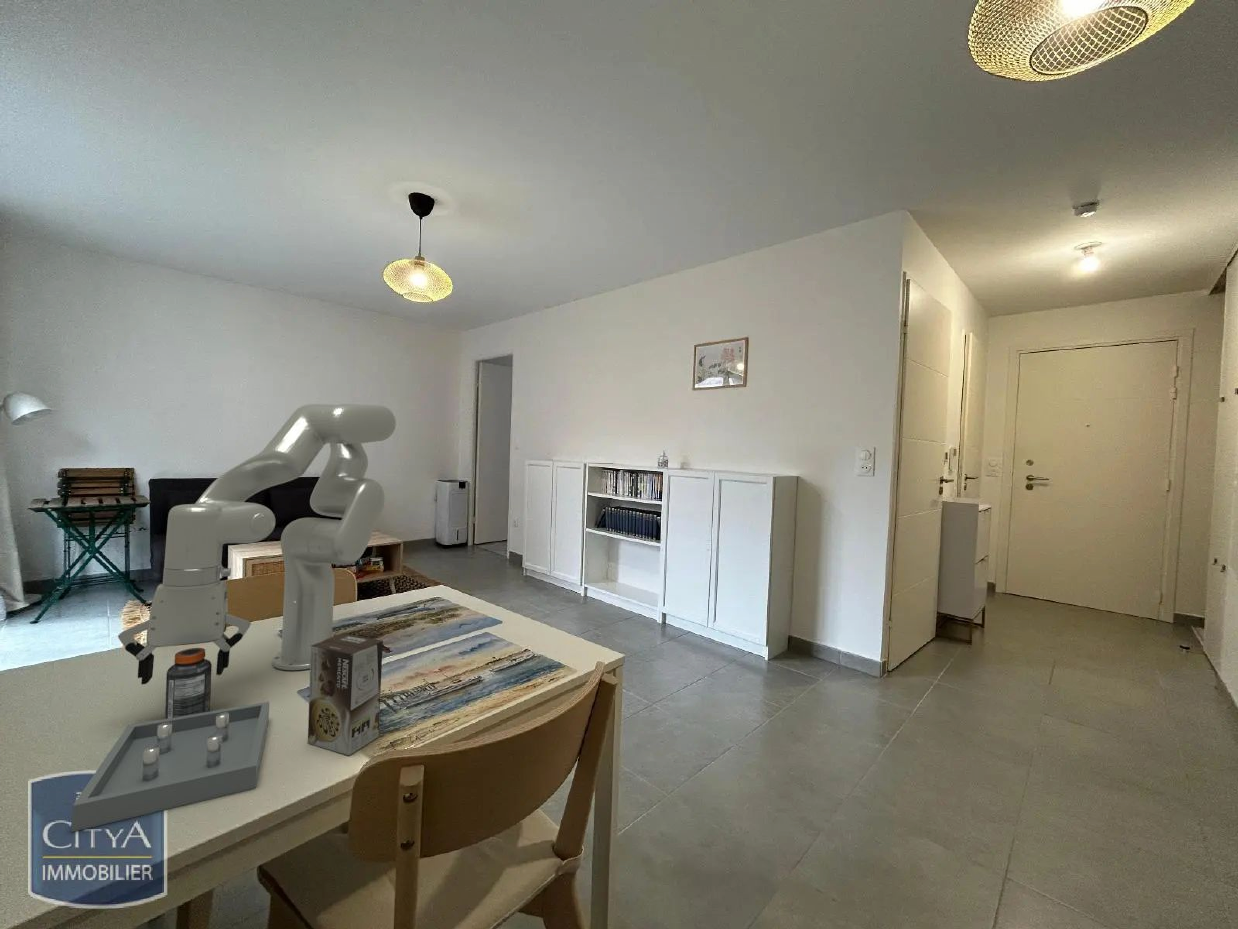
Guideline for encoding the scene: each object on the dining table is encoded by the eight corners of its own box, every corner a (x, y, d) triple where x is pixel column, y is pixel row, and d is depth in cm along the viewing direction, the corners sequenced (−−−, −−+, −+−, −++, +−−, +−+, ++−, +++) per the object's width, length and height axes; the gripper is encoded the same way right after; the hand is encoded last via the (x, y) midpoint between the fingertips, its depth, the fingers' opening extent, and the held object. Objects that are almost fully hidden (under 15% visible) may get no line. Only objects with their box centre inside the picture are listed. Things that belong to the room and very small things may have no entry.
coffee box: (380, 736, 83) (385, 640, 83) (348, 757, 77) (353, 654, 77) (339, 724, 86) (343, 631, 86) (304, 743, 80) (309, 643, 80)
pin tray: (268, 719, 86) (269, 690, 86) (255, 788, 69) (257, 751, 69) (127, 745, 77) (128, 712, 77) (71, 832, 60) (73, 789, 60)
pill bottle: (183, 707, 89) (185, 644, 89) (218, 707, 89) (221, 645, 89) (154, 725, 83) (157, 657, 83) (192, 725, 84) (195, 658, 83)
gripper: (256, 570, 93) (249, 662, 93) (131, 574, 85) (123, 676, 84) (251, 578, 87) (244, 677, 87) (115, 584, 78) (106, 694, 78)
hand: (184, 676), depth 85 cm, fingers open, 9 cm apart
